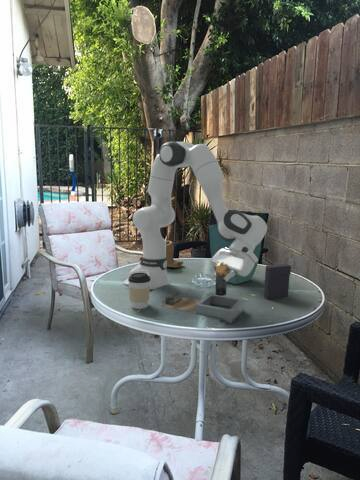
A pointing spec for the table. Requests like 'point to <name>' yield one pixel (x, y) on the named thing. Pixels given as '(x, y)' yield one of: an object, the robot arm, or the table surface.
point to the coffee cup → (139, 290)
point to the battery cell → (221, 279)
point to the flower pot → (219, 243)
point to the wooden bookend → (171, 256)
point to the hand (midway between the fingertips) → (220, 278)
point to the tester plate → (180, 302)
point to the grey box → (277, 281)
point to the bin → (223, 313)
